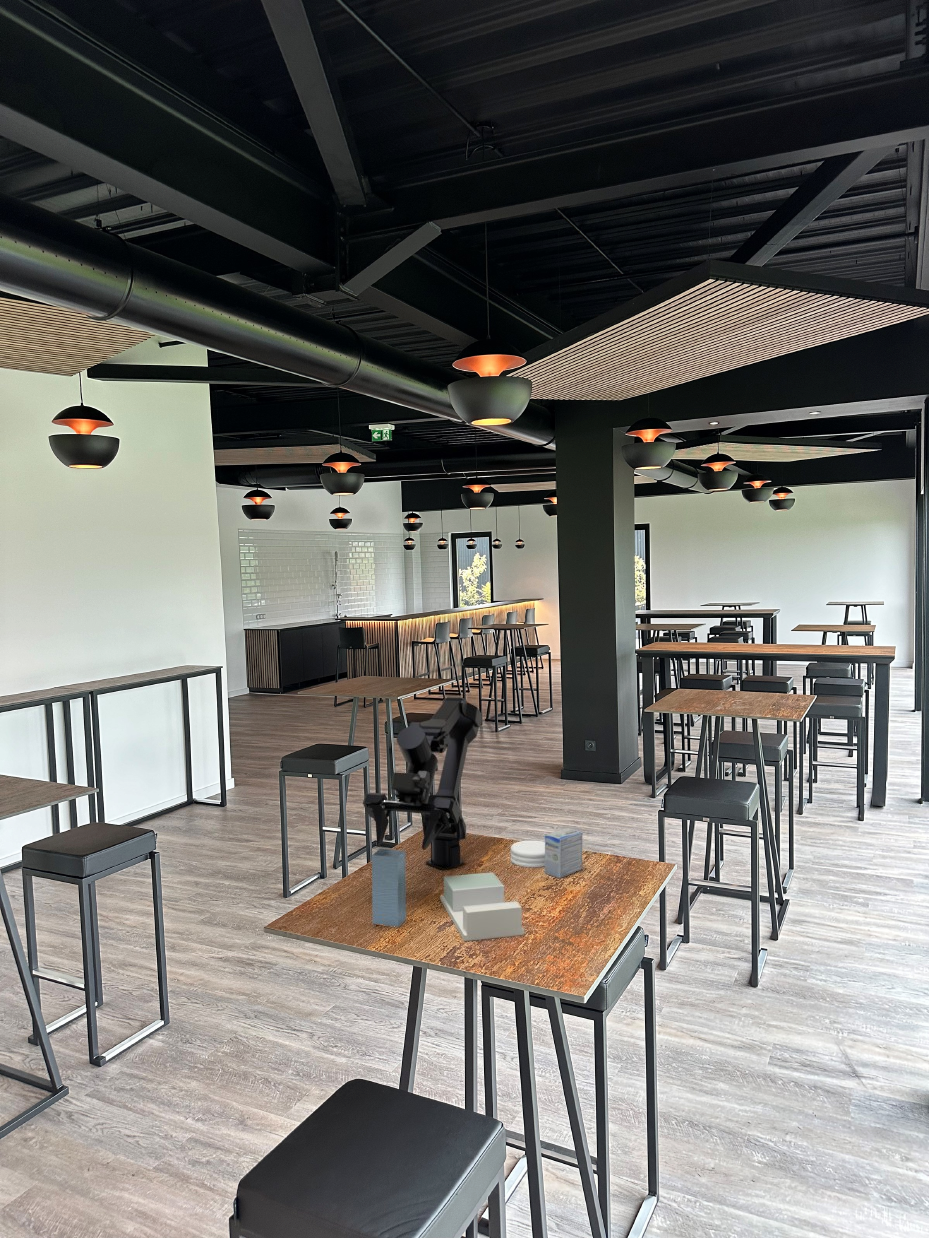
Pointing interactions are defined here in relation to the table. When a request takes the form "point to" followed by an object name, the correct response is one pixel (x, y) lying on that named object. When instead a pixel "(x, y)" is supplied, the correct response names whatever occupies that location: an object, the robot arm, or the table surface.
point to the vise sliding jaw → (472, 890)
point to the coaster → (528, 854)
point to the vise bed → (487, 920)
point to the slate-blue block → (389, 887)
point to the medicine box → (563, 852)
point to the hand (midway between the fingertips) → (400, 846)
